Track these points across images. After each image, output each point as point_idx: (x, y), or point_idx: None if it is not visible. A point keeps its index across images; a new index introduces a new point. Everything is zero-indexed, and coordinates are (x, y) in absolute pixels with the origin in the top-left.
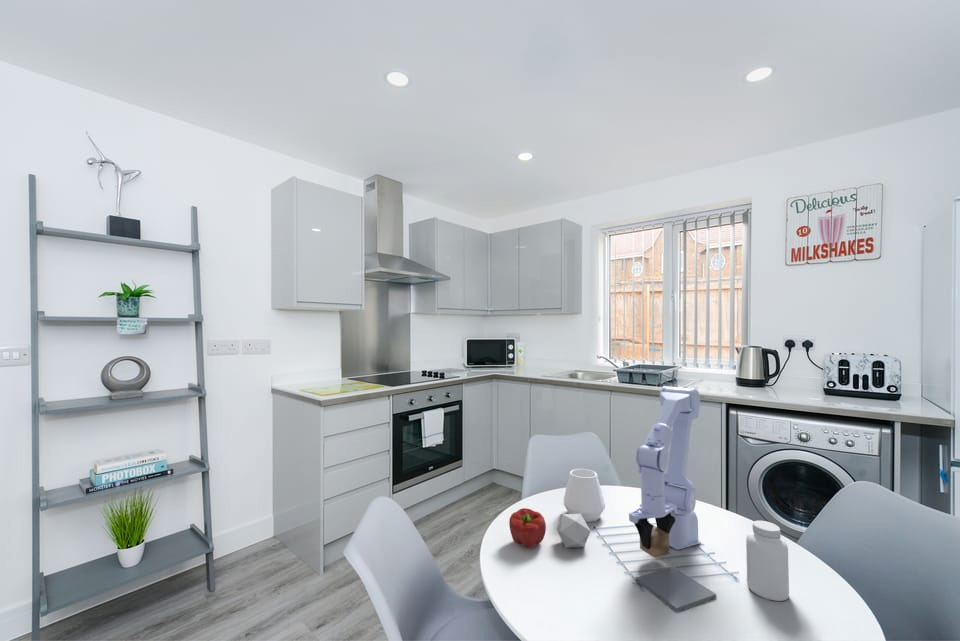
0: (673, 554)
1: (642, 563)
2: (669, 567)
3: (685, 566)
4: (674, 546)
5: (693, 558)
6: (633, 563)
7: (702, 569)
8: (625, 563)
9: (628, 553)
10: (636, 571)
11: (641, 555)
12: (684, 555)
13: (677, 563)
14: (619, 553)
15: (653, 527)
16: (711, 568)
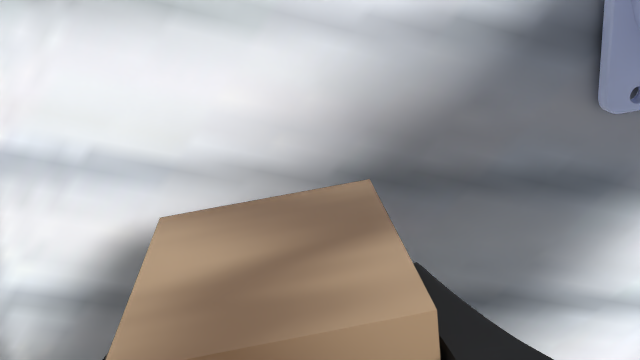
0: (518, 152)
1: None
2: None
3: None
4: (618, 77)
5: (611, 231)
6: (86, 204)
7: (544, 347)
8: (8, 191)
9: (117, 41)
10: (58, 302)
11: (231, 105)
12: (587, 183)
13: (444, 265)
14: (15, 17)
15: (382, 356)
16: (607, 347)
